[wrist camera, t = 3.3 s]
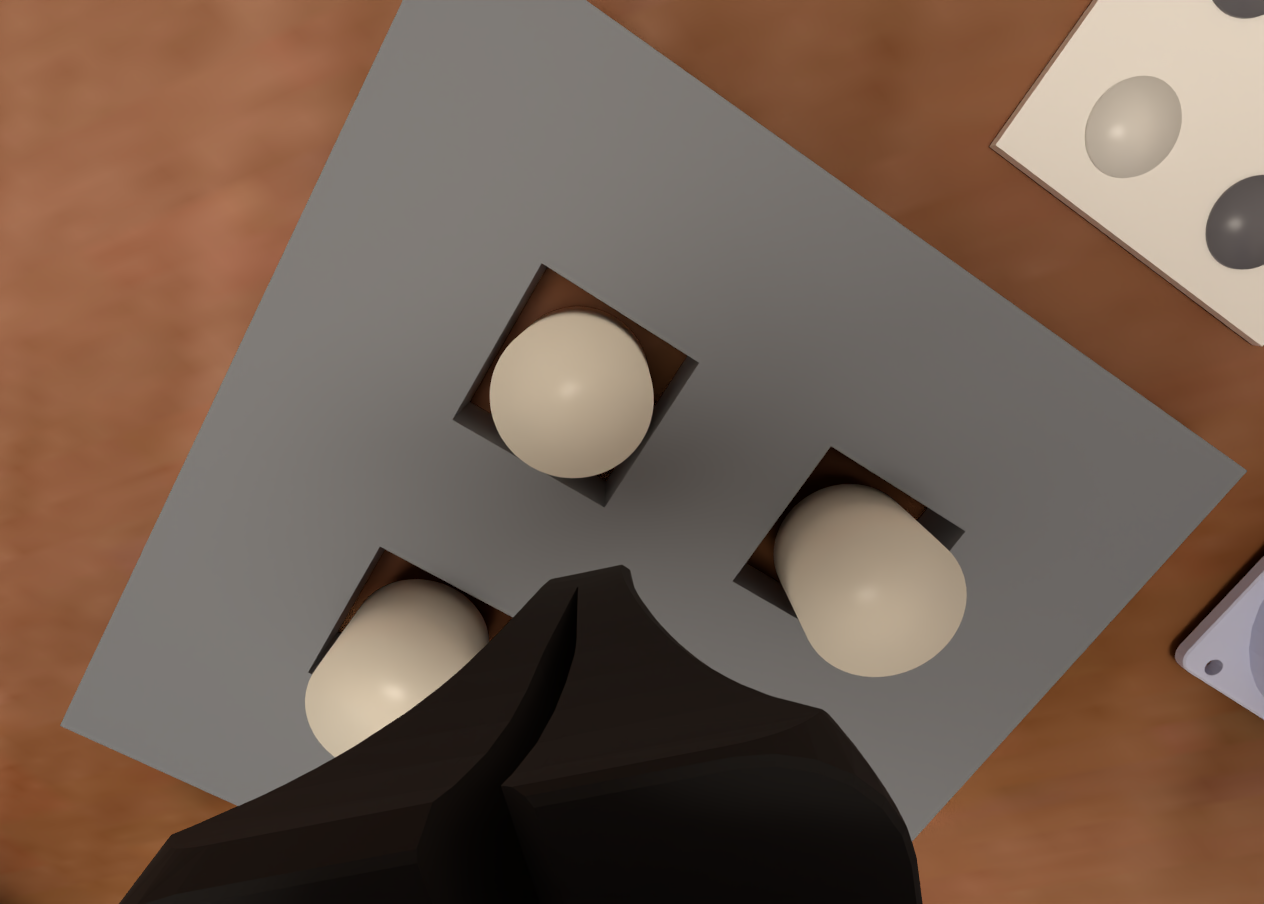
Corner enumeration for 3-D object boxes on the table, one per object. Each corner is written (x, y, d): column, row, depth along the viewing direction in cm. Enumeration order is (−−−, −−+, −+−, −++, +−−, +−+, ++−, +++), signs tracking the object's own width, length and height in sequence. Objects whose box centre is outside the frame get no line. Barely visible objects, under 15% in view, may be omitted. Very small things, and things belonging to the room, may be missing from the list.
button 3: (675, 354, 18) (685, 374, 15) (602, 467, 19) (599, 506, 16) (554, 278, 17) (541, 284, 15) (484, 398, 18) (460, 425, 16)
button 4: (513, 620, 18) (495, 687, 16) (449, 720, 19) (420, 799, 16) (390, 554, 18) (347, 611, 15) (329, 660, 19) (278, 732, 16)
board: (1184, 448, 19) (1246, 470, 17) (730, 969, 24) (739, 1032, 22) (470, -55, 16) (448, -98, 14) (112, 681, 21) (60, 725, 19)
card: (1501, 55, 16) (1522, 51, 16) (1252, 344, 18) (1265, 347, 18) (1231, -196, 15) (1246, -206, 15) (989, 146, 17) (997, 144, 16)
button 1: (941, 528, 18) (1000, 580, 15) (856, 635, 19) (897, 703, 16) (828, 457, 17) (869, 498, 15) (746, 570, 18) (768, 629, 15)
